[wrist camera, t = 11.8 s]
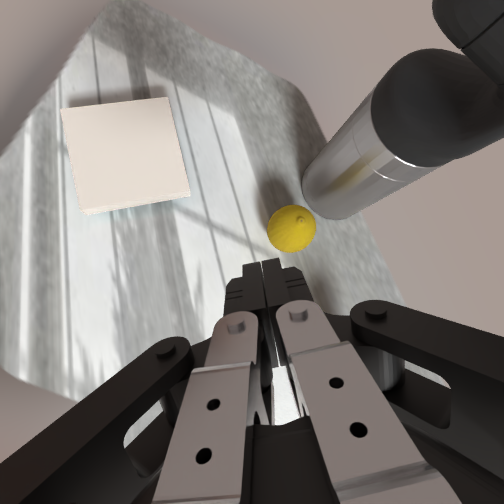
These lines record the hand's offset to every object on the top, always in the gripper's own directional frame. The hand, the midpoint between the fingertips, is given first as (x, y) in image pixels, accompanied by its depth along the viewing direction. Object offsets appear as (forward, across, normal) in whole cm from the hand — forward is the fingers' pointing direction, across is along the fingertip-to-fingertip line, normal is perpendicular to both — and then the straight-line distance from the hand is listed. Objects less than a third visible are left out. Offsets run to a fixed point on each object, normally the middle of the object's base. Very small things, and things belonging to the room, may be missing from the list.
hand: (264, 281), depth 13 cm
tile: (+25, +13, 0) cm, 28 cm away
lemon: (+28, -2, +8) cm, 29 cm away
